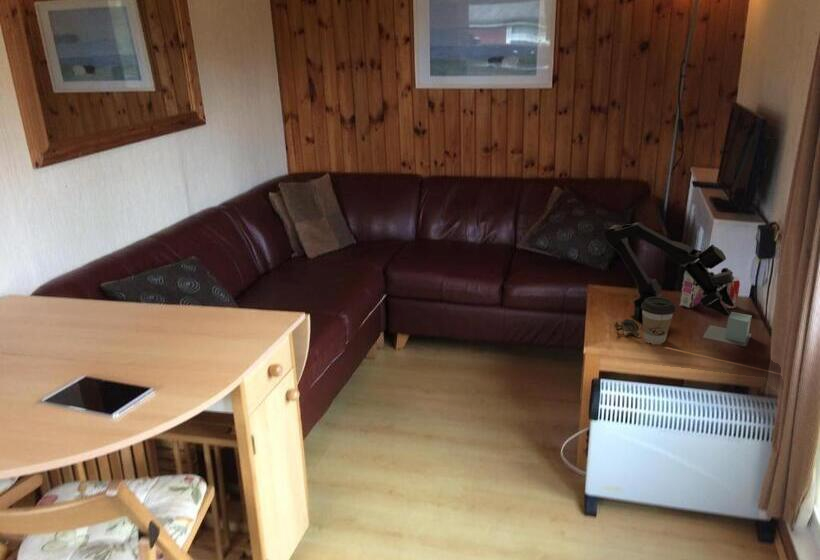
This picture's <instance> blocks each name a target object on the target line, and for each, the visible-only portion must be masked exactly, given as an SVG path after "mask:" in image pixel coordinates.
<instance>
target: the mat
mask: <svg viewBox="0 0 820 560" xmlns="http://www.w3.org/2000/svg"><path fill="white" fill-rule="evenodd" d="M726 329H727V327H726V328H725V327H720V326H717V325H716V326H715V325H711V324H709V326H708V327H707V329H706V331H705V333H704V334H703V336H702V338H705V339H709V340H714V341H717V342H718V341H719V342H722V343H727V344H733V345H736V346H737V345H738V346H740V347H741V346H742V347H747V345H748V343H749V341H750V339H751V336H752V333H750V332H749V334H748V337H747V339H746V342H745V343H743V342H738V341H734V340H729V339H725V335H726Z"/></svg>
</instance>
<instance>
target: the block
mask: <svg viewBox="0 0 820 560" xmlns="http://www.w3.org/2000/svg"><path fill="white" fill-rule="evenodd" d="M752 316H753V315H750V314H746V313H741V312H740V313H739V312H735V311H731V313H729V315H728V318H727V325H726V335H725V339H729V340H734V341H738V342H743V343H745V342H746V339H747V337H748V334H749V333H750V327H751V321H752Z"/></svg>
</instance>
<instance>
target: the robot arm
mask: <svg viewBox="0 0 820 560" xmlns="http://www.w3.org/2000/svg"><path fill="white" fill-rule="evenodd" d="M633 236H636V237H637V238H640V239H641V240H644V241H645V242H647V243H649V244H650V245H652V246H654V247H655V248H658V249H660V250H661V251H663V252H664V253H665V255H666V256H667V257H669V258H670V259H671V260H672V261H673V262H675V263H676V264H677V265H680V266H679V274H682V273H684V272H685V271H686V272H687V273H688V274H689V275H690V276H691V278H692V279H693V280H694V281H695V282H696V283H695V285H696V286H699V287H700V288H701V289H702V291H703V293H702V294H703V295H704V296H702V298H701V299H700V303H699V304H701V306H702V307H705V308H709V309H712V310H713V311H716V312H717V313H720V314H722V315H724V316H730V312H729V311H728V310H727V309H726V308H725V306H724V305H723V303H722V301H723V302H725V303H726V304H728V305H729V306H731V307H732V306H734V304H733V301H732V299H731V297H730V295H729V293H728V286H729V284H728V283H731V282H733V280H734V278H733V277H734V275H733V274H734V271H732V270H730V269H729V268H728V267H723V268H721V270H720V272H718V273H716V274H715V273H714V272H713V271H709V269H711V270H712V269H714V268H715V267H716V266H718V265H720V264H721V263H723V262H724V261H726V260H727V257H726V255H725V253H724V252H723V251H722V250H721V249H720V248H718V247H716V246H715V245H714V244H710V245H708V247H707V248H706V249H704V250H703V251H702V250H698V249H695V248H693V247H692V246H690V245H688V244H685V243H683V242H679V241H675V240H672V239H669V238H667V237H666V236H664V235H662V234H660V233H659V232H656V231H655V230H653V229H651V228H649V227H647V226H646V225H644V224H643V223H641V222H637V221H636V222H635V223H630V224H629V223H627V224H624V225H620V224H614V225H613V226H611V227H610V228H608V229H607V230H606V231H605V232H604V239H605V241H606V243H608V244H609V246H610V247H611V248H612V249H614V250H615V251H617V252H618V253H617V254H619V256H620V258H621V260H622V261H623V262H624V264H625V266H626V267H627V270H628V271H629V273H630V274H631V276H632V277H633V279H634V281H635V283H636V284H637V291H638V294H639V295H638V297H637V298H635V299H634V301H633V304H634V308H633V309H634V311H633V314H632V315H631V316H630V317H631V318H632V319H634V321H637V323H640V324H643V314H642V308H641V304H642V302H644V301H645V299H646V298H648V297H662V289H661V288H662V286H661V285H660V283H658V280H657V278H654V279H652V278H651V277H649V276H648V274H647V273H646V271H645V269H644V268H643V267H642V266H643V265H641V263H640V261H639V259H638V258H637V256H636V255H635V253H634V251H633V250H632V248H631V246H630V245H629V239H628V238H629V237H633ZM706 268H707V269H708V270H707V269H706ZM724 284H726V286H725V285H724ZM721 300H722V301H721Z"/></svg>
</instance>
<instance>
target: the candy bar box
mask: <svg viewBox="0 0 820 560" xmlns="http://www.w3.org/2000/svg"><path fill="white" fill-rule="evenodd" d="M706 269H707V268H706ZM707 270H708V271H709V268H708V269H707ZM683 273H684V274H683V281H682V287H681V292H680V293H681V294H680V300H679V306H680V307H682V308H686V309H690V308H694V307H697V305H699V304H701V303H700V299H701V298H702V296H704V295H703V294H702V293H703V291H702V289H701V288H700V287H699V286H696V285H695V283H696V282H695V281H694V280H693V279H692V278H691V276H690V275H689V274H688V273H687V272H686V271H684V272H683Z"/></svg>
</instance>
